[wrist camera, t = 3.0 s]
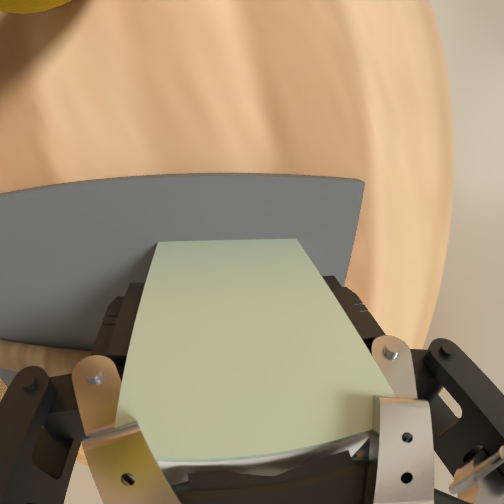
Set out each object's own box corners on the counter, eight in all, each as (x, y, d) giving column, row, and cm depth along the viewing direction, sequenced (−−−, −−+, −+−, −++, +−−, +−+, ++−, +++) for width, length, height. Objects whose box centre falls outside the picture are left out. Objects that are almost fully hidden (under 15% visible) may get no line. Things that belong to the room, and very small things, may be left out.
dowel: (-10, 331, 12) (-21, 350, 10) (138, 346, 14) (133, 373, 12) (2, 351, 13) (-8, 370, 11) (145, 368, 15) (142, 395, 13)
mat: (-68, 210, 8) (-73, 213, 8) (358, 179, 12) (365, 182, 12) (9, 382, 15) (7, 386, 15) (306, 392, 20) (308, 398, 19)
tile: (158, 242, 12) (111, 453, 4) (296, 238, 12) (406, 416, 5) (164, 290, 13) (144, 486, 5) (290, 285, 14) (367, 458, 6)
